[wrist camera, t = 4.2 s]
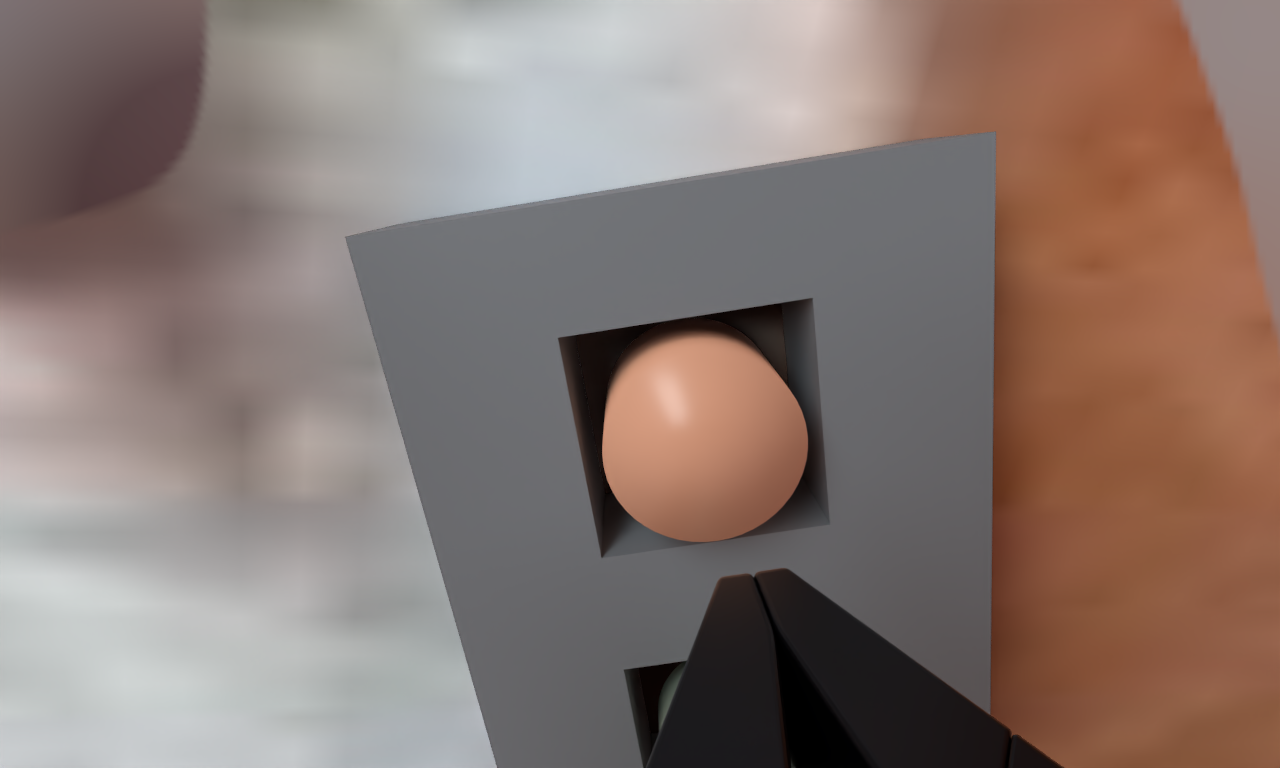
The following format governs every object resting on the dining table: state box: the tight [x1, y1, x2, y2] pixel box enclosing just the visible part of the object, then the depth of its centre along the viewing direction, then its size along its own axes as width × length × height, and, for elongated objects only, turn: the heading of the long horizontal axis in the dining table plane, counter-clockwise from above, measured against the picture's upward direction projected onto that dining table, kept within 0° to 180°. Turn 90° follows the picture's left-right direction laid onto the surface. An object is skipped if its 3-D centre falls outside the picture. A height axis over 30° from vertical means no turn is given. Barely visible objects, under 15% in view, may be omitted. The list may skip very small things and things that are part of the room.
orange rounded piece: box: [602, 318, 808, 542], centre depth 14 cm, size 4×4×3 cm
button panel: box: [345, 132, 996, 768], centre depth 18 cm, size 26×12×3 cm, turn 9°
